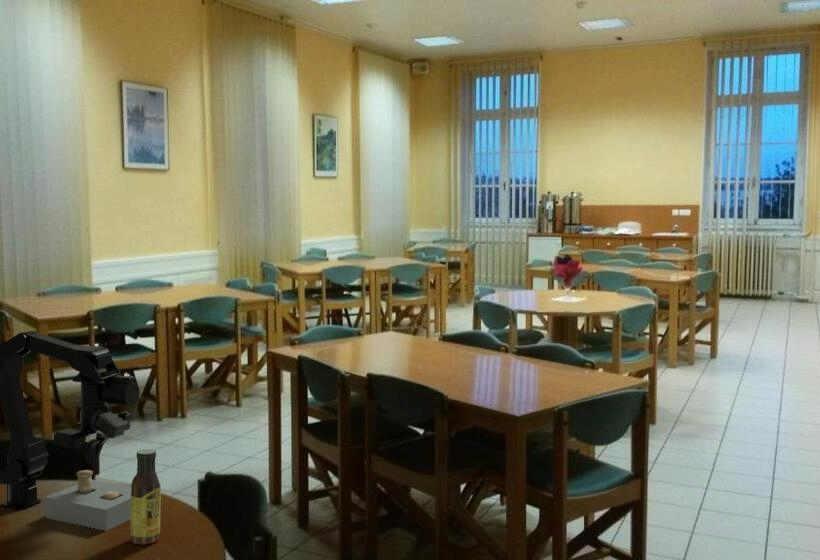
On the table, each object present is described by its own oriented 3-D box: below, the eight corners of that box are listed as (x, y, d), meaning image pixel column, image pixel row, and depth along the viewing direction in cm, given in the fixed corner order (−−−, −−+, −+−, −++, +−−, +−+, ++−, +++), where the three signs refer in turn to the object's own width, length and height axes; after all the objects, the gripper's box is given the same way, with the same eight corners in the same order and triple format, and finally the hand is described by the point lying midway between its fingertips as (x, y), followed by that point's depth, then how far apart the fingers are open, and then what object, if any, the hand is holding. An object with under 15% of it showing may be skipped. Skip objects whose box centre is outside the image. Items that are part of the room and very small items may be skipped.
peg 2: (99, 518, 184) (99, 495, 183) (110, 513, 187) (110, 490, 186) (111, 520, 182) (111, 497, 182) (122, 515, 186) (122, 493, 185)
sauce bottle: (150, 547, 168) (150, 457, 167) (124, 544, 170) (124, 454, 168) (166, 535, 175) (166, 448, 173) (140, 532, 176) (140, 446, 174)
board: (45, 517, 183) (45, 497, 182) (90, 498, 196) (90, 479, 195) (106, 531, 176) (106, 509, 176) (148, 510, 189) (148, 490, 189)
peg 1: (73, 496, 186) (73, 473, 186) (84, 491, 190) (84, 469, 189) (85, 498, 185) (84, 475, 184) (96, 493, 188) (96, 471, 188)
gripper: (90, 415, 173) (89, 483, 174) (148, 398, 190) (146, 460, 191) (52, 407, 177) (51, 475, 178) (112, 391, 194) (110, 453, 195)
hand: (92, 465), depth 186 cm, fingers closed
